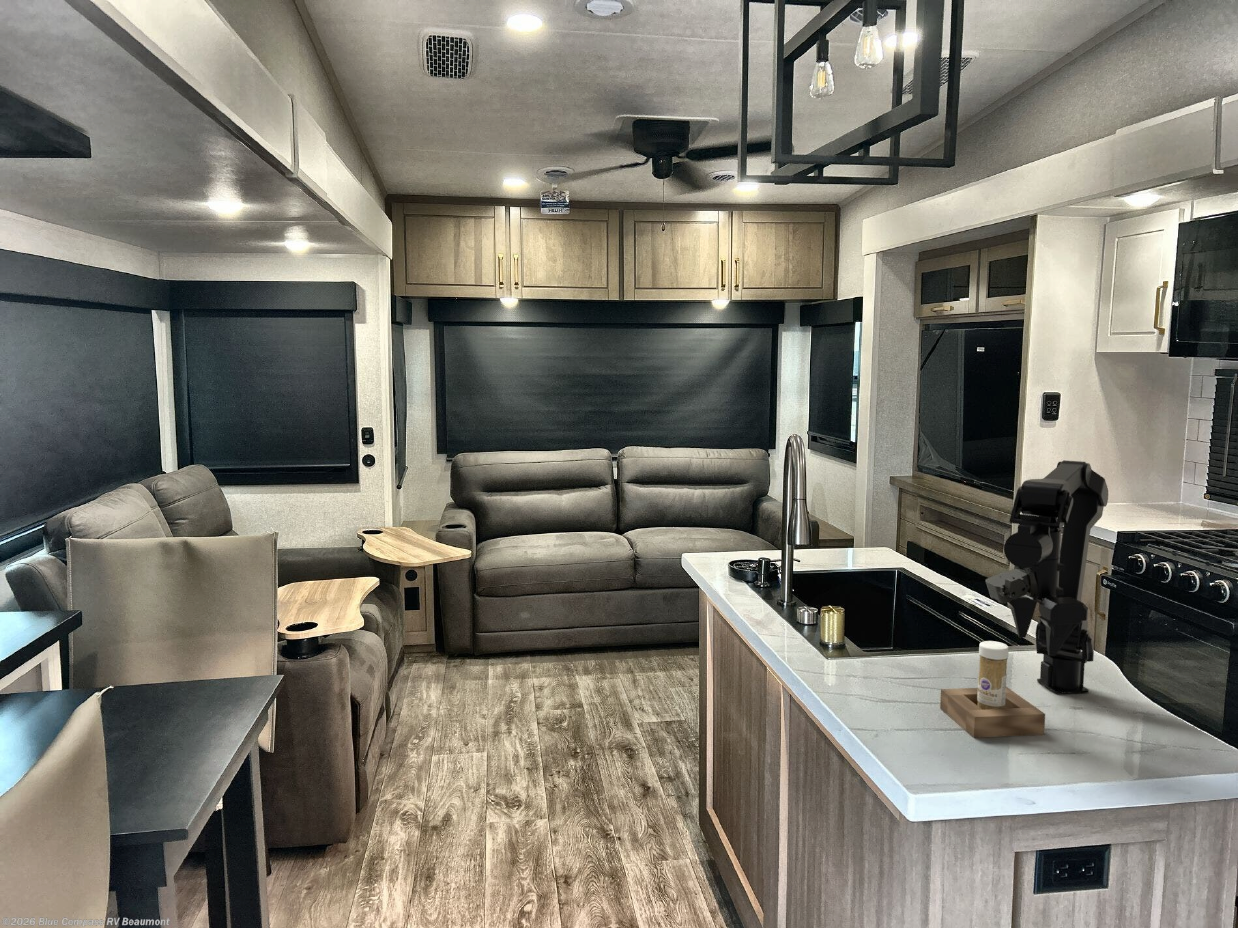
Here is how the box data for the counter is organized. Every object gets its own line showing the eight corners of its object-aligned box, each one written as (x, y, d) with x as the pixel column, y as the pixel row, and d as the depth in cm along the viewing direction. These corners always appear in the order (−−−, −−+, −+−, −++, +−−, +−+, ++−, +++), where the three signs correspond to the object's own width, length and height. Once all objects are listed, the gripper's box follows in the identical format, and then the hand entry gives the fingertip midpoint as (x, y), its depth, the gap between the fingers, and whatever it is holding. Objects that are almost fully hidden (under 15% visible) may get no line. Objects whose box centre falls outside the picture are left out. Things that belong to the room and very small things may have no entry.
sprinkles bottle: (972, 721, 146) (975, 644, 145) (981, 713, 150) (984, 638, 148) (1000, 728, 143) (1004, 650, 142) (1008, 719, 147) (1012, 643, 145)
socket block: (1005, 705, 153) (1006, 686, 153) (1044, 734, 141) (1045, 713, 141) (940, 708, 152) (940, 689, 152) (973, 737, 140) (974, 716, 140)
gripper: (967, 545, 153) (964, 630, 155) (1023, 571, 134) (1019, 668, 136) (1028, 543, 153) (1024, 628, 155) (1092, 569, 135) (1087, 665, 137)
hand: (1036, 646), depth 146 cm, fingers open, 9 cm apart
